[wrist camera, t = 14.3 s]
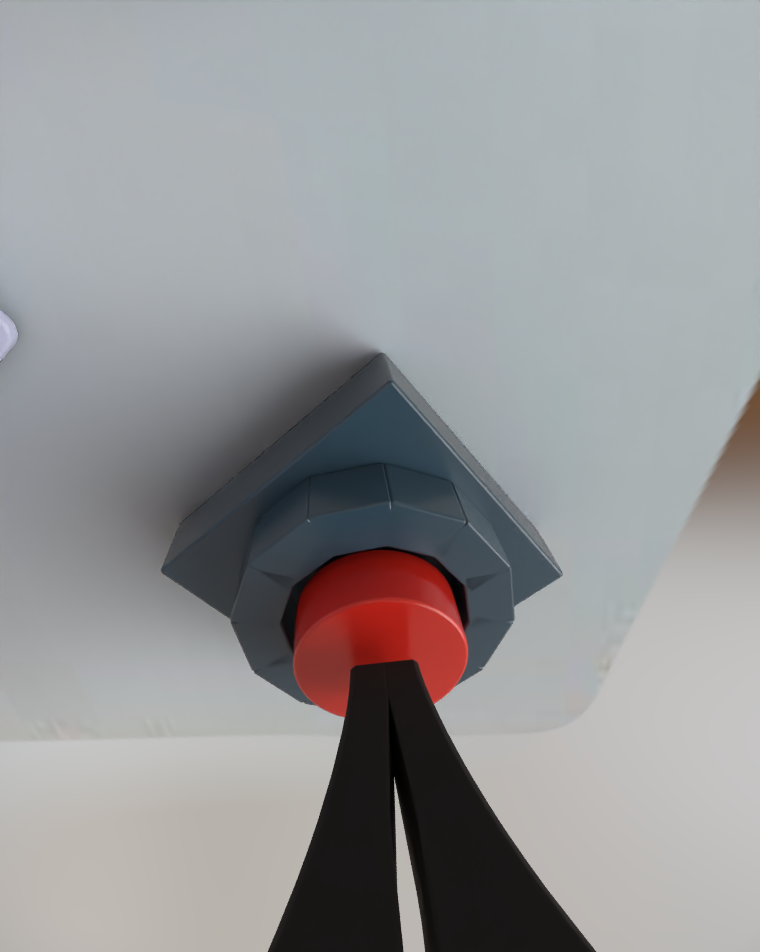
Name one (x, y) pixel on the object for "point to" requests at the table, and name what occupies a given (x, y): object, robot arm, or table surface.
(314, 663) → the button
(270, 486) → the control box
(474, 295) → the table surface
